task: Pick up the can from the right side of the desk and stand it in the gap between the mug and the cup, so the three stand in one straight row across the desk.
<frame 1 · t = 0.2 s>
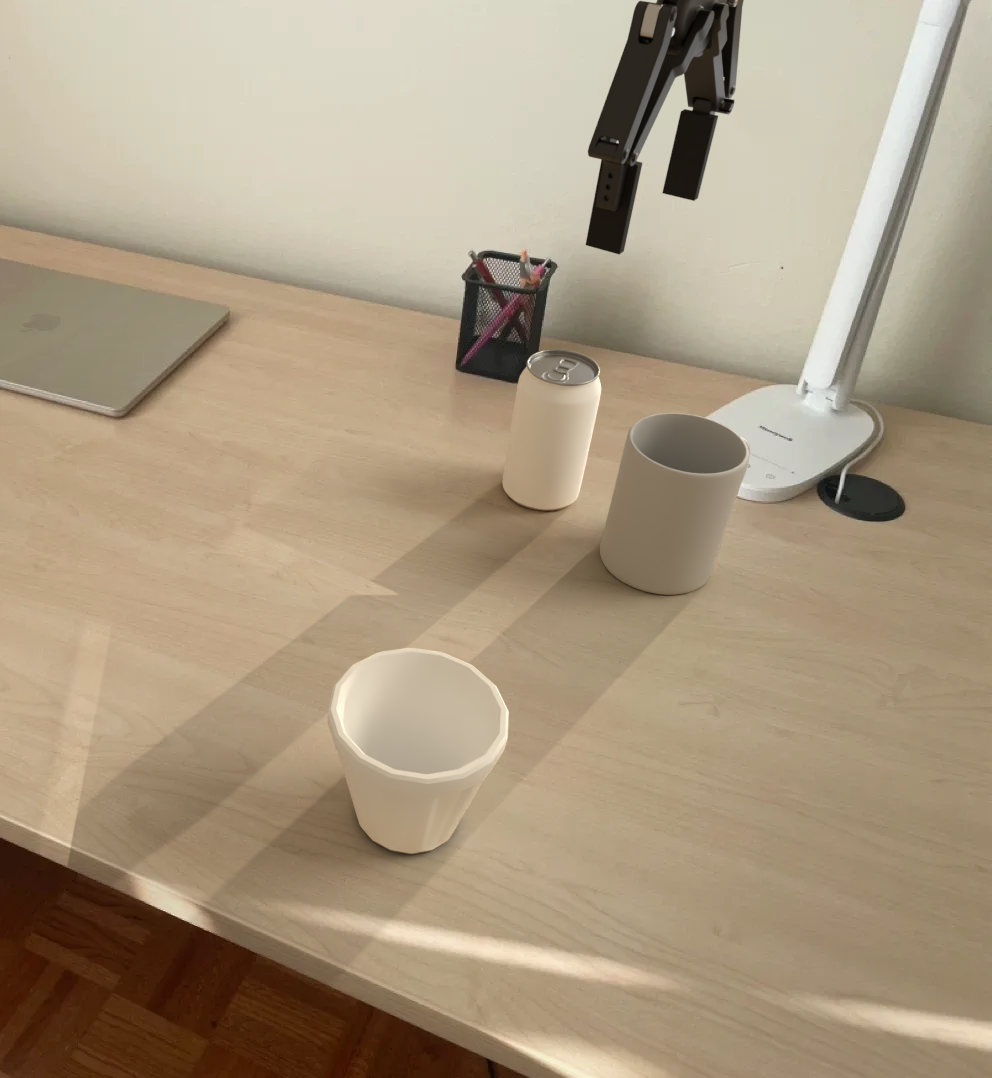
hand: (643, 221, 82), 21 cm above the table, tool pointing down, fingers open, 13 cm apart
cup: (405, 815, 64), on the table
can: (539, 492, 90), on the table
mug: (669, 554, 84), on the table
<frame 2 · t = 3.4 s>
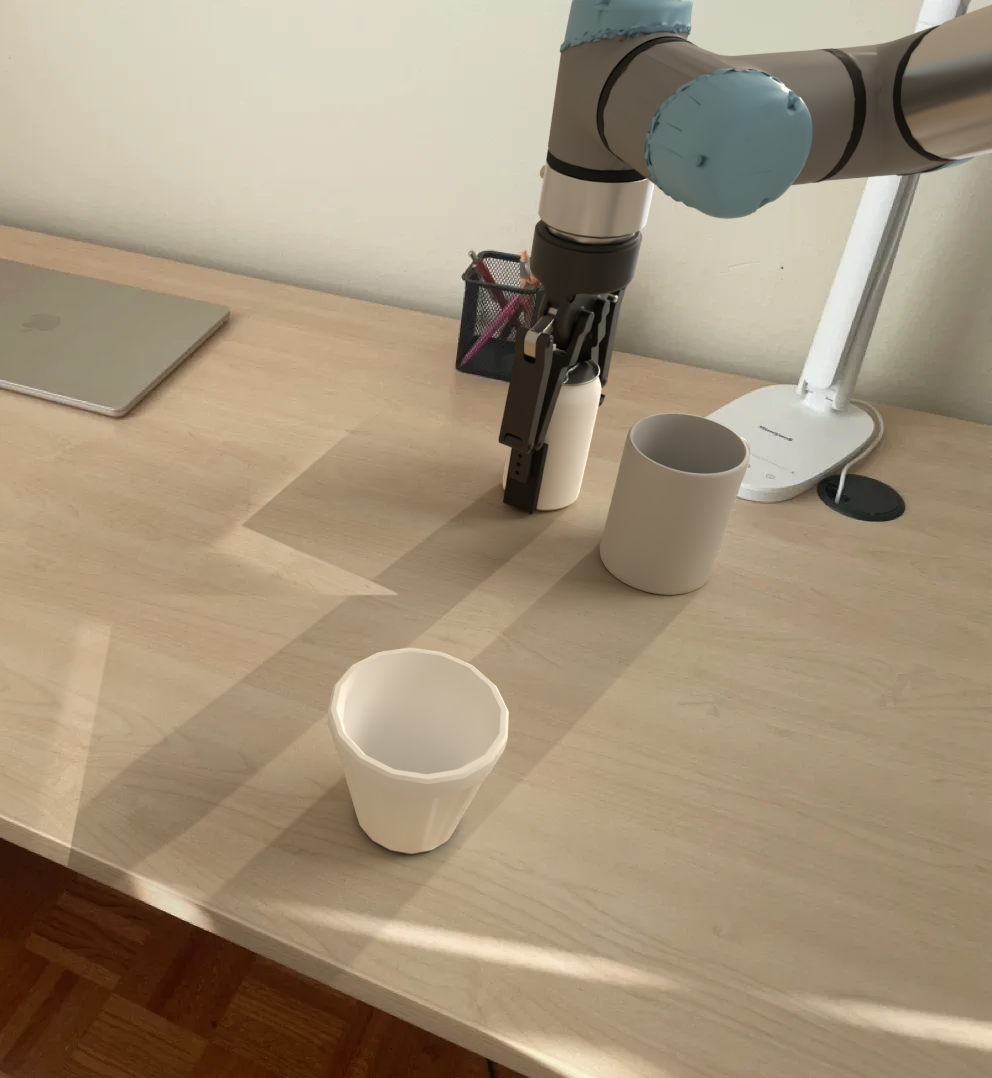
hand: (540, 486, 90), 0 cm above the table, tool pointing down, fingers closed on can, 6 cm apart
can: (539, 492, 90), on the table, touching gripper
everything else where it was.
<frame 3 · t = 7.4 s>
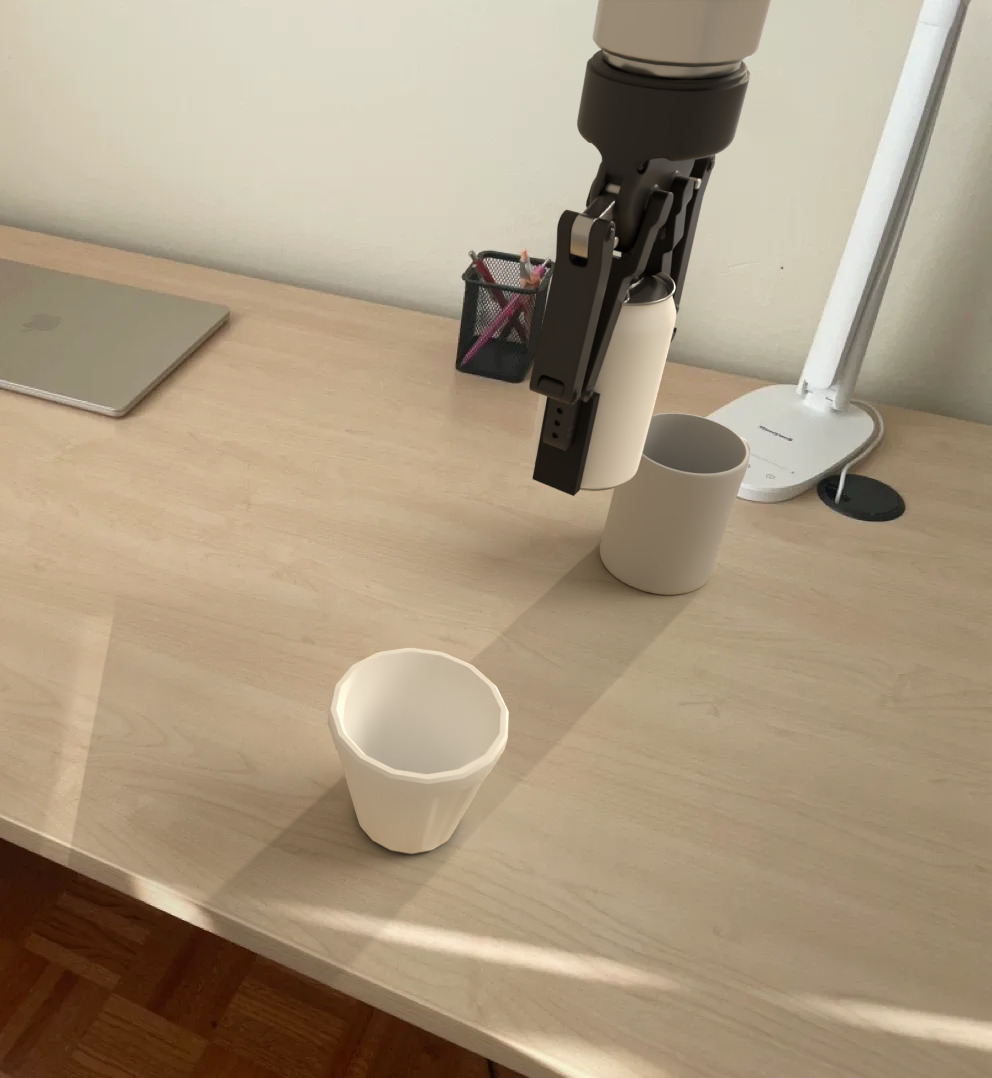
hand: (584, 457, 65), 17 cm above the table, tool pointing down, fingers closed on can, 6 cm apart
can: (582, 466, 65), point 16 cm above the table, touching gripper
everything else where it was.
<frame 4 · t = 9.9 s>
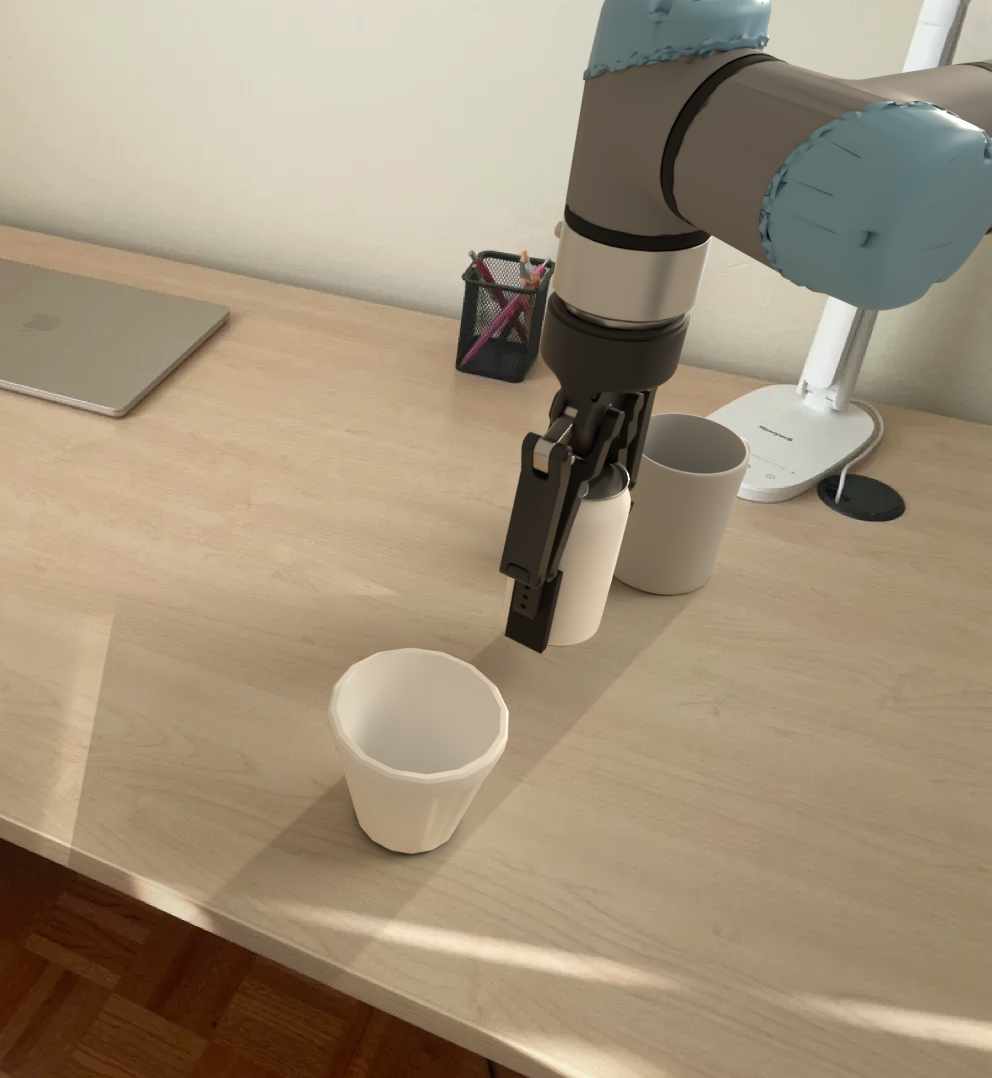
hand: (551, 612, 72), 4 cm above the table, tool pointing down, fingers closed on can, 6 cm apart
can: (549, 619, 72), point 4 cm above the table, touching gripper
everything else where it was.
when the fingers open (0 cm above the table, at t = 11.3 s): can stays where it is, on the table.
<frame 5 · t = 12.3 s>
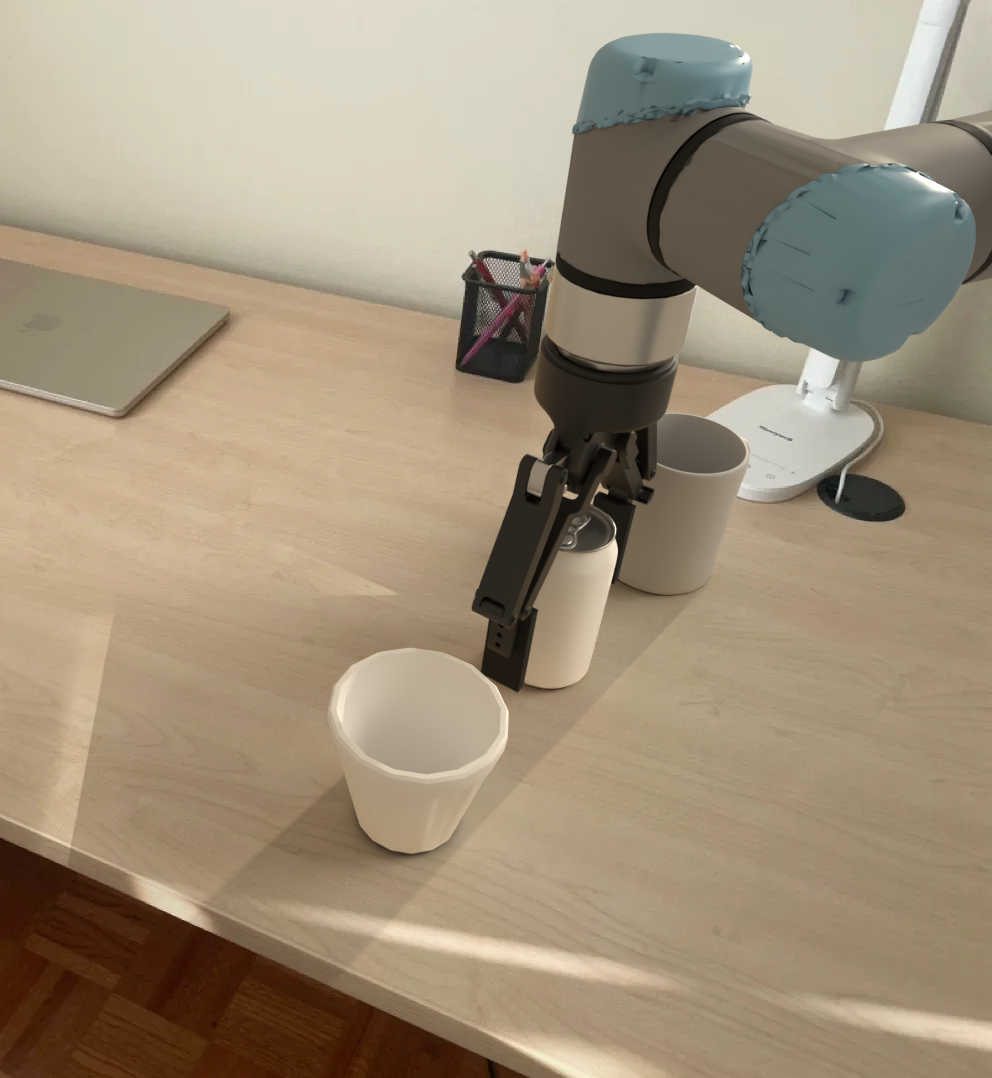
hand: (552, 624, 72), 4 cm above the table, tool pointing down, fingers open, 13 cm apart
can: (541, 661, 74), on the table
everything else where it was.
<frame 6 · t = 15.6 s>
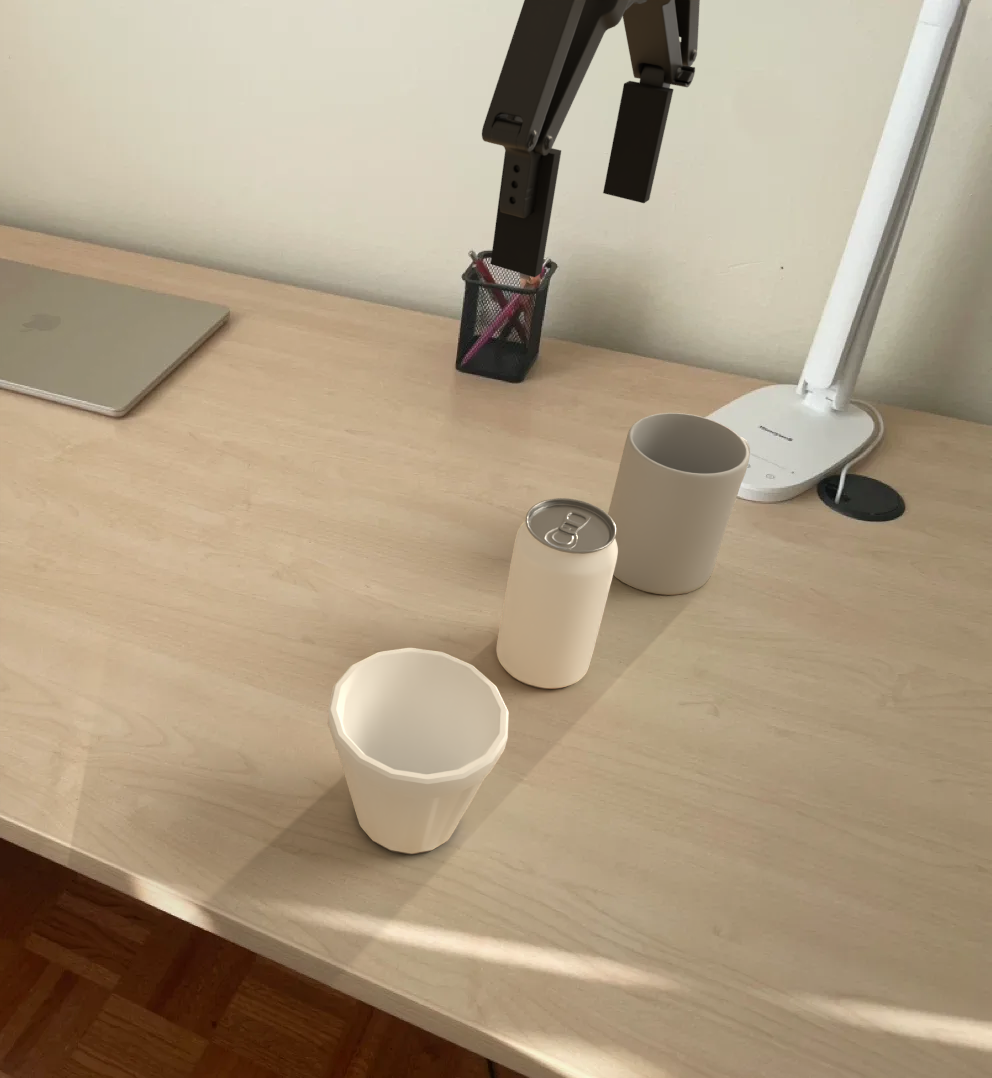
hand: (574, 230, 61), 29 cm above the table, tool pointing down, fingers open, 13 cm apart
nothing on the table moved.
at the end: can inside the target area on the table beside the cup (0.3 cm from its centre), on the table; can tilted 0°; cup moved 0.2 cm from its start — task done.
